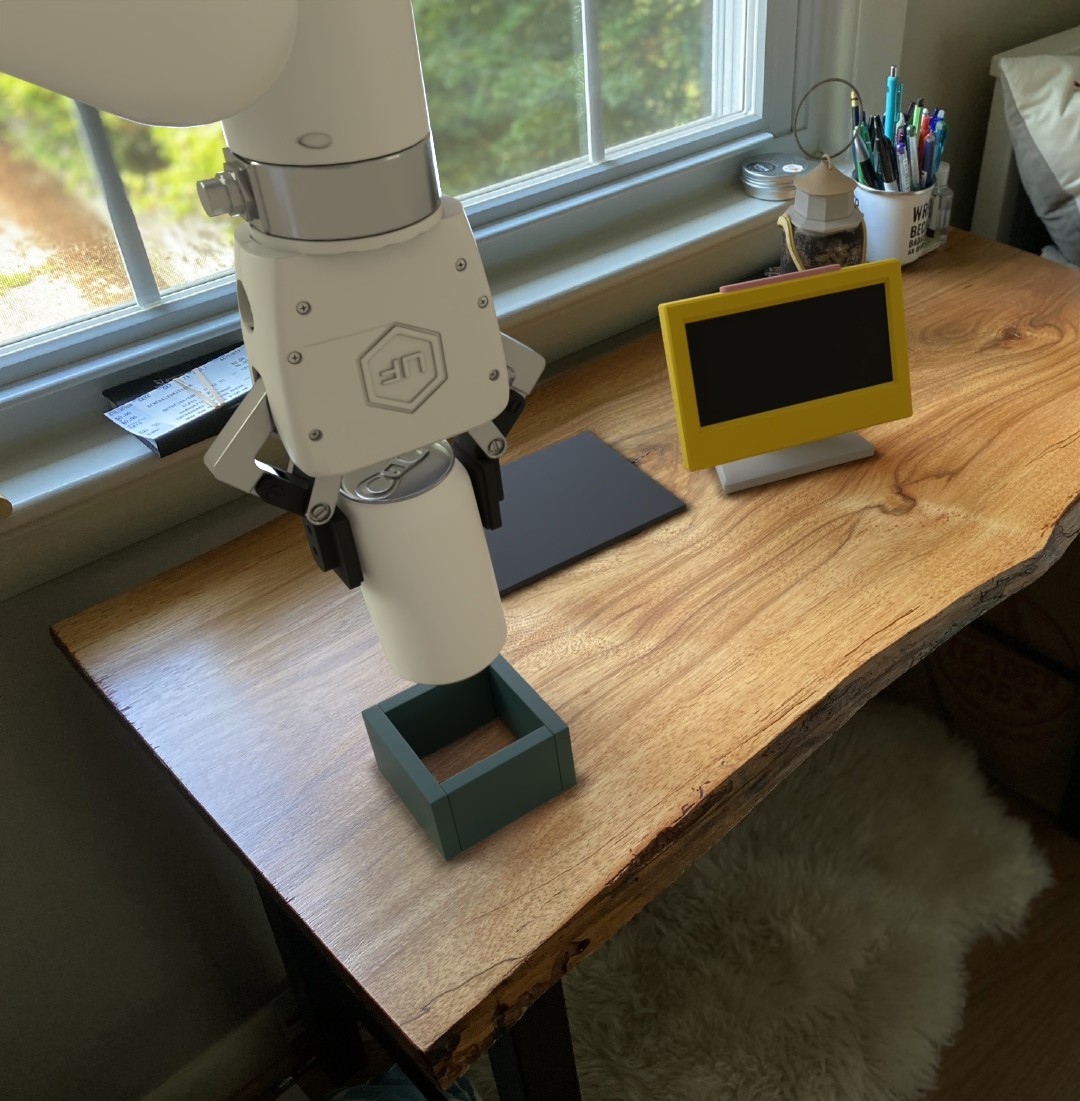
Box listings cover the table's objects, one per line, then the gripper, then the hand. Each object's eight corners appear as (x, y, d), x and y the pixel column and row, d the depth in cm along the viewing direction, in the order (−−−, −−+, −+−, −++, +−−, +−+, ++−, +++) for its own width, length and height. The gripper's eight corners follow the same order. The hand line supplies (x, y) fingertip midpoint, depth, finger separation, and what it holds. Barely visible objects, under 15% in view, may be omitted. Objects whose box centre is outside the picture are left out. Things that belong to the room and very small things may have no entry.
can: (362, 672, 58) (292, 491, 50) (431, 592, 62) (378, 415, 55) (466, 704, 56) (411, 520, 48) (531, 619, 60) (490, 439, 53)
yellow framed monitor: (691, 508, 87) (685, 326, 77) (655, 458, 93) (645, 282, 83) (909, 450, 93) (929, 275, 84) (864, 406, 99) (877, 237, 89)
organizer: (446, 862, 61) (430, 804, 58) (378, 768, 66) (360, 711, 63) (577, 784, 65) (569, 726, 62) (503, 702, 71) (493, 645, 67)
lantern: (836, 321, 112) (852, 60, 96) (877, 356, 106) (901, 84, 91) (759, 339, 109) (763, 72, 94) (797, 375, 103) (808, 98, 88)
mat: (458, 617, 77) (457, 611, 77) (371, 523, 86) (370, 518, 85) (686, 509, 87) (686, 503, 87) (588, 434, 95) (587, 430, 95)
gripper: (139, 268, 37) (270, 661, 48) (579, 164, 46) (605, 515, 57) (78, 204, 41) (210, 575, 52) (488, 120, 50) (528, 453, 61)
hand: (414, 541), depth 54 cm, fingers closed on can, 6 cm apart
